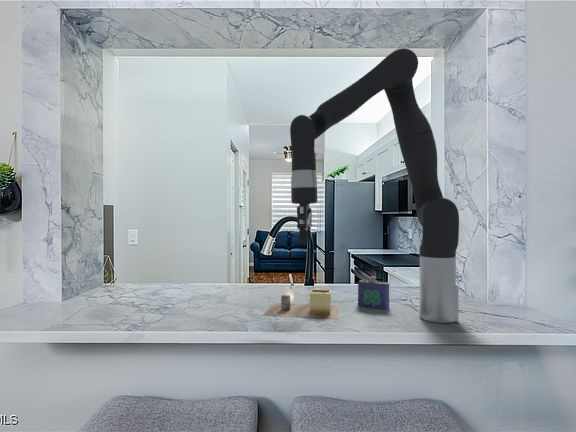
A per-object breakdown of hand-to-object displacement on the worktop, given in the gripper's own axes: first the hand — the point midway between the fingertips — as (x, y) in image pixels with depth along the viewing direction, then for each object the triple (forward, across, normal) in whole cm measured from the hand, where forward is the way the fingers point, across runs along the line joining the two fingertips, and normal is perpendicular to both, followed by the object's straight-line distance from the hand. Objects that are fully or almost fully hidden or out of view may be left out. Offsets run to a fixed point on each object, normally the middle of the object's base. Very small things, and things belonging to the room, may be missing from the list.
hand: (305, 243), depth 101 cm
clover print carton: (+21, +6, -19) cm, 29 cm away
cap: (+19, -1, -4) cm, 20 cm away
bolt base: (+20, -1, +1) cm, 21 cm away
